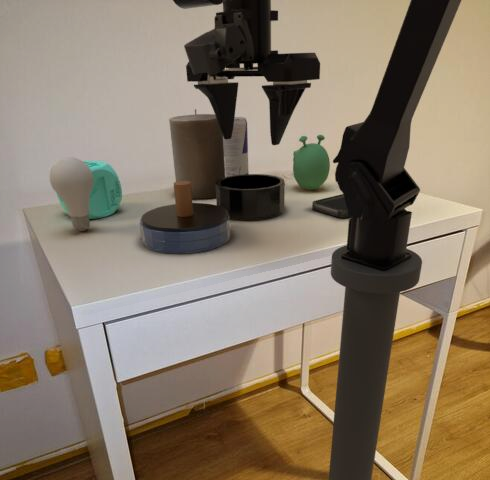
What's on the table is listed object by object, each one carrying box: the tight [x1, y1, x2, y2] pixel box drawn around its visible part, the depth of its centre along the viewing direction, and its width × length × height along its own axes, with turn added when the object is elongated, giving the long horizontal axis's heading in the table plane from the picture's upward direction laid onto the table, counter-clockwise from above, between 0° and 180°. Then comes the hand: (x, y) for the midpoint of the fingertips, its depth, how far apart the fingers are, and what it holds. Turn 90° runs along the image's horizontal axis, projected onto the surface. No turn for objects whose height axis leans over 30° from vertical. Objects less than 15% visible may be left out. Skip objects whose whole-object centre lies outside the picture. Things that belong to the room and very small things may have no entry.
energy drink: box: [223, 116, 250, 177], centre depth 98 cm, size 5×5×12 cm
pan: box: [139, 214, 232, 255], centre depth 68 cm, size 13×13×3 cm
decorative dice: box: [56, 160, 123, 220], centre depth 79 cm, size 8×8×8 cm
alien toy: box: [292, 134, 331, 191], centre depth 89 cm, size 7×8×10 cm
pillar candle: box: [168, 108, 225, 200], centre depth 87 cm, size 10×10×15 cm
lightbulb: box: [49, 156, 94, 232], centre depth 70 cm, size 6×6×11 cm
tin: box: [215, 173, 286, 222], centre depth 79 cm, size 11×11×5 cm
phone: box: [311, 193, 352, 219], centre depth 80 cm, size 8×1×15 cm
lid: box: [140, 181, 228, 232], centre depth 66 cm, size 12×12×6 cm
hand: (250, 141), depth 63 cm, fingers open, 9 cm apart
